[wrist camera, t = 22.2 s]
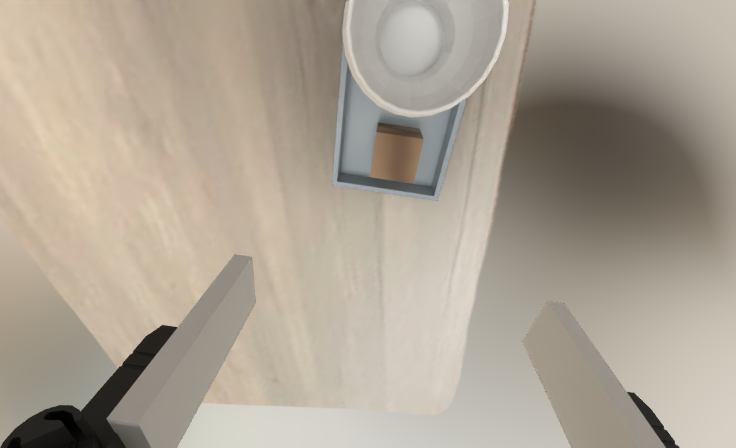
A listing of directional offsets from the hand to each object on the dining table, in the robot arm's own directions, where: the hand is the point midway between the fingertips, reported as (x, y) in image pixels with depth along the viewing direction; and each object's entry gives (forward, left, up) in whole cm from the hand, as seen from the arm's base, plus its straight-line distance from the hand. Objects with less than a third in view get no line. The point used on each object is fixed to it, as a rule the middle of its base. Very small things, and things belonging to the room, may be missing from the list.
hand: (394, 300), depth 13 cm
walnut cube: (0, 0, -26) cm, 26 cm away
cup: (-11, 0, -26) cm, 29 cm away
